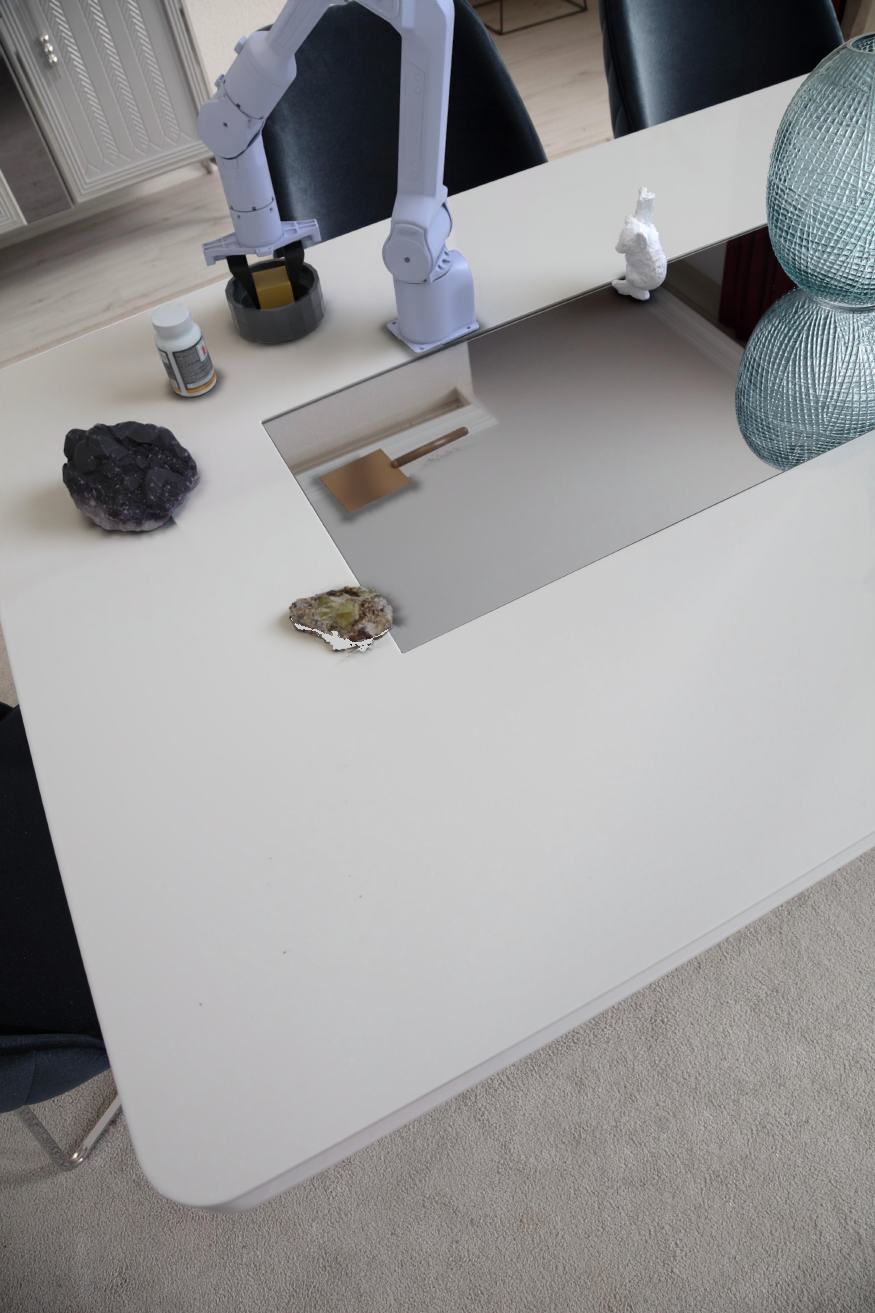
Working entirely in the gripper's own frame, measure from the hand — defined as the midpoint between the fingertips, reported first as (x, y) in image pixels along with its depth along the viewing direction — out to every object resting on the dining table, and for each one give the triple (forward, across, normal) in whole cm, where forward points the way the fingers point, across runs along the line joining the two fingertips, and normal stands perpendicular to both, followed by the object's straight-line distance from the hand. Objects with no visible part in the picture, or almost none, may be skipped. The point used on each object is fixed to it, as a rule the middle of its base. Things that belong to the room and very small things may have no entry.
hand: (276, 301), depth 122 cm
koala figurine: (+3, +46, -12) cm, 47 cm away
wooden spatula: (+2, +9, -34) cm, 35 cm away
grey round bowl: (+2, 0, 0) cm, 2 cm away
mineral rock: (+3, -2, -54) cm, 54 cm away
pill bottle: (+3, -13, -10) cm, 16 cm away
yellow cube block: (+1, 0, 0) cm, 1 cm away
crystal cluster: (+3, -21, -28) cm, 35 cm away
